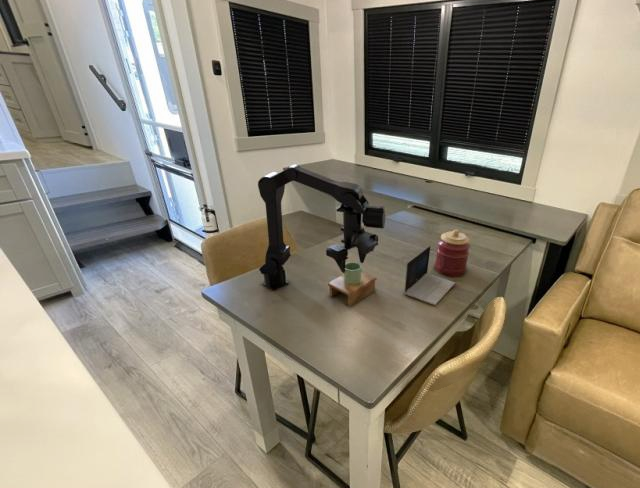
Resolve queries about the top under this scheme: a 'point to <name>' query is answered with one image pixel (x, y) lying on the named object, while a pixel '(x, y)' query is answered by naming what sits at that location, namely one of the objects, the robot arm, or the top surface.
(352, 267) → the ramekin
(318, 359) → the top surface
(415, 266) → the laptop
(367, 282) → the shelf
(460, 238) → the kitchen canister
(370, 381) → the top surface
